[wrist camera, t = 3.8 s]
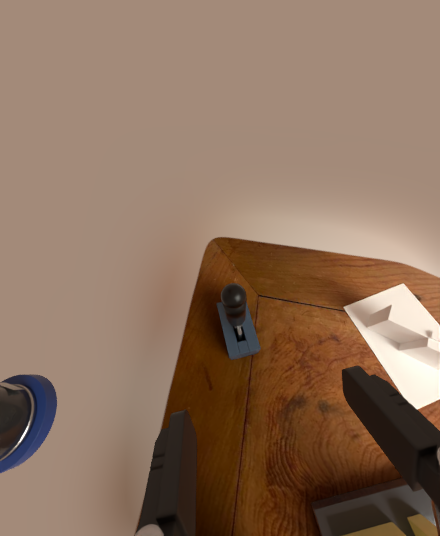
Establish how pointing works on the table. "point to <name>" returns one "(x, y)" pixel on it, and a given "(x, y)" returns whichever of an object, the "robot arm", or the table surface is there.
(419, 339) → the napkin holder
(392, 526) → the butter block
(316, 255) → the table surface
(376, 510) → the board
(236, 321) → the knife
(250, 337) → the knife stand
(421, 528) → the butter pat
